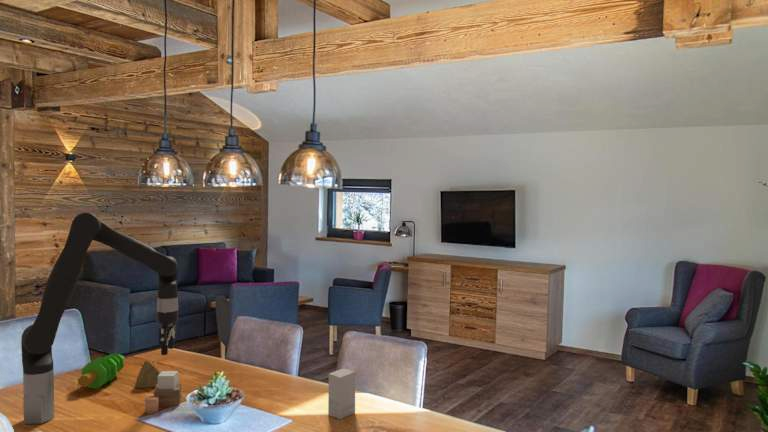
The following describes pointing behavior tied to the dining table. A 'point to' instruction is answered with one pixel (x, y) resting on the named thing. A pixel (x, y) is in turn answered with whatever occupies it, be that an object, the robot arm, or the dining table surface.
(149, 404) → the pinkish tan cube
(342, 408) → the skincare box
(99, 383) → the decorative tree
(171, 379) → the grey block
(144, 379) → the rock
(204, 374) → the dining table surface
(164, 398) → the walnut block
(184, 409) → the dining table surface
